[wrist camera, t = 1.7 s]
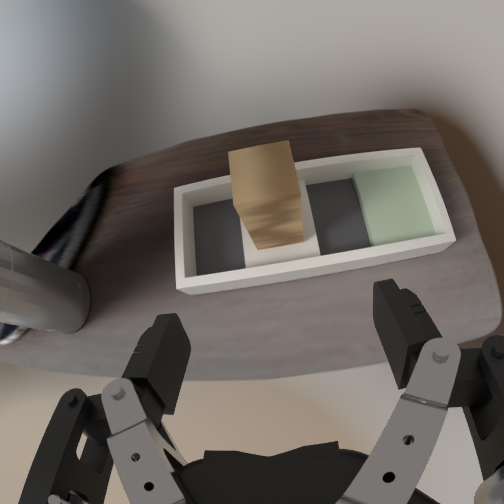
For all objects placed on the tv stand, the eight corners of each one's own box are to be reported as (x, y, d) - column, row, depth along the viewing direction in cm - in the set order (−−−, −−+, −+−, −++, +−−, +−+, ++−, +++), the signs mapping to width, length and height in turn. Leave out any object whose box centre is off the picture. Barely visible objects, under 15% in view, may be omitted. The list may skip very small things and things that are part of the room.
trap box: (190, 295, 33) (176, 288, 29) (186, 202, 37) (174, 187, 33) (442, 251, 29) (456, 240, 25) (412, 165, 33) (420, 147, 29)
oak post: (257, 250, 32) (233, 204, 21) (252, 208, 33) (228, 151, 23) (303, 242, 31) (300, 192, 21) (295, 201, 33) (288, 140, 22)
